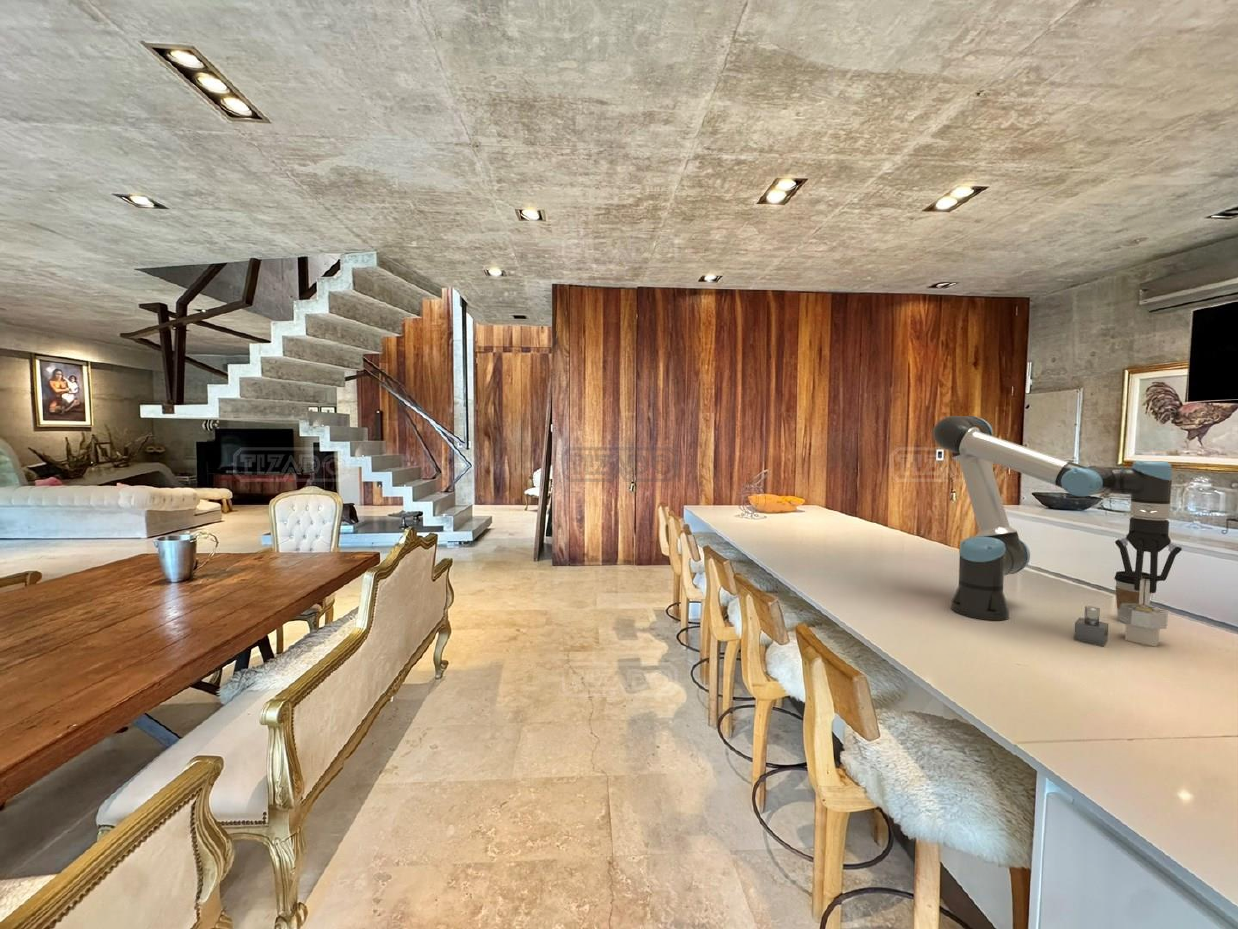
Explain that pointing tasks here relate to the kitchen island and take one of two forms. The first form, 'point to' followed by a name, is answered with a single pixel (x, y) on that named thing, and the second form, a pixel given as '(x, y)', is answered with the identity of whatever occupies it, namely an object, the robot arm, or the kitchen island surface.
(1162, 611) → the ring
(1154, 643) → the hub
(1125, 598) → the coffee cup
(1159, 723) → the kitchen island surface
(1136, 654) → the kitchen island surface
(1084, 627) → the stand
